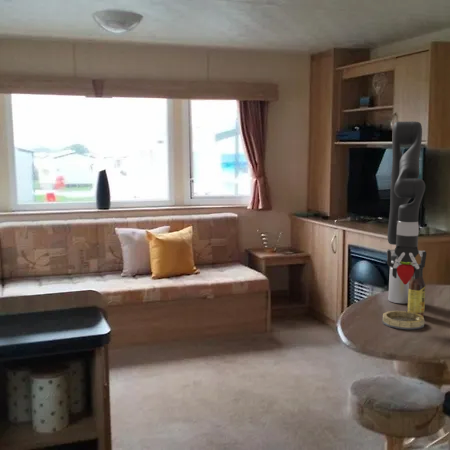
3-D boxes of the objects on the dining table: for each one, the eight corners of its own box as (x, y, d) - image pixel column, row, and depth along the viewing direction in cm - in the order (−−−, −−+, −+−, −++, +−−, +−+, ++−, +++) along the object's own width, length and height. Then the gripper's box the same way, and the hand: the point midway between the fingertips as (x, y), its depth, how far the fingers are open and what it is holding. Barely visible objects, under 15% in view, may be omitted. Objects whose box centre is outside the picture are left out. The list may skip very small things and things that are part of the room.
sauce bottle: (425, 318, 224) (427, 267, 221) (408, 317, 225) (410, 266, 223) (422, 313, 231) (425, 263, 228) (406, 312, 232) (408, 263, 229)
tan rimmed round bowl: (380, 316, 226) (381, 309, 226) (420, 318, 223) (421, 311, 223) (384, 328, 212) (384, 321, 211) (426, 331, 209) (427, 323, 208)
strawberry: (392, 284, 215) (393, 257, 214) (403, 281, 220) (404, 255, 219) (406, 287, 211) (408, 260, 209) (417, 284, 216) (418, 257, 214)
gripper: (426, 232, 215) (424, 276, 217) (386, 231, 218) (384, 275, 220) (429, 235, 208) (427, 281, 210) (387, 234, 210) (385, 279, 213)
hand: (405, 278), depth 215 cm, fingers closed on strawberry, 6 cm apart
